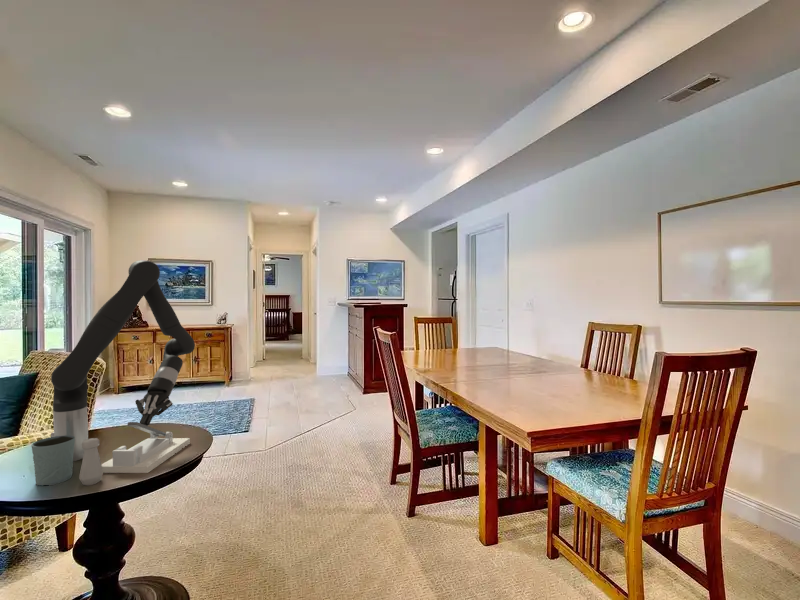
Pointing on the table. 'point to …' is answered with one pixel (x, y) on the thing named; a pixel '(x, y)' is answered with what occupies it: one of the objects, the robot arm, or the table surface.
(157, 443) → the stand
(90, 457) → the salt shaker
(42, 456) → the pale green planter pot
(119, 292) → the robot arm
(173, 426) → the table surface
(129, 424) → the bar
